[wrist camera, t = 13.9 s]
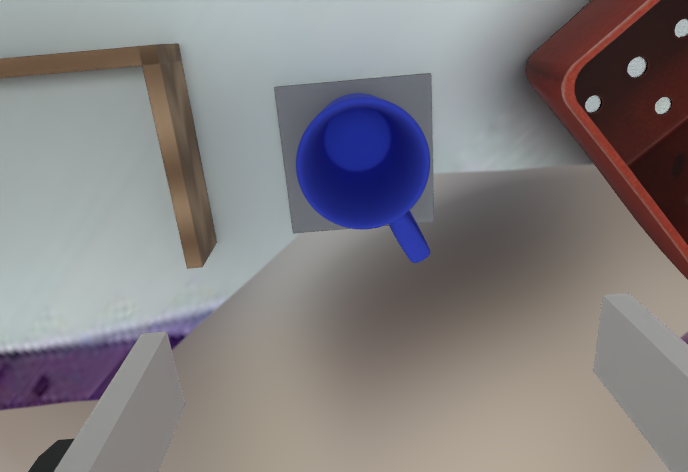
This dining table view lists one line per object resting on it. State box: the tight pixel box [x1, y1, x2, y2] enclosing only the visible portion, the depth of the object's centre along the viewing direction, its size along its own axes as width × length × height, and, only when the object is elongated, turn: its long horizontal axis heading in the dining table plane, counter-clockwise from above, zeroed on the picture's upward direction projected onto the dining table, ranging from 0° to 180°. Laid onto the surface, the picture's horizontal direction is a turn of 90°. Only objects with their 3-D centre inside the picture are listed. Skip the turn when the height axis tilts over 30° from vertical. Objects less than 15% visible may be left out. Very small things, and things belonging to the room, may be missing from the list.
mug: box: [296, 93, 430, 263], centre depth 35 cm, size 8×12×10 cm
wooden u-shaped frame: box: [0, 44, 217, 268], centre depth 38 cm, size 16×22×5 cm
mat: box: [274, 73, 434, 233], centre depth 40 cm, size 12×12×1 cm
